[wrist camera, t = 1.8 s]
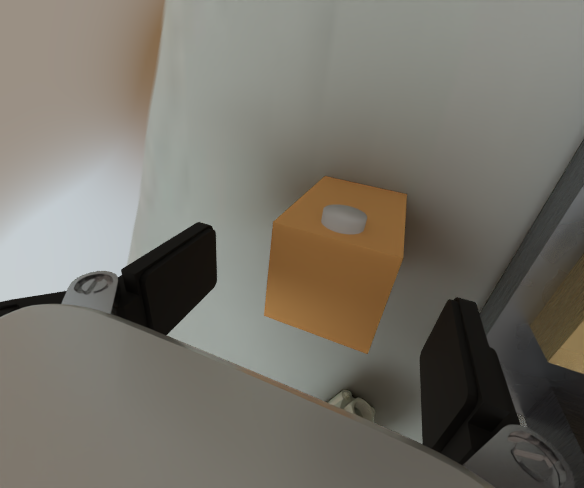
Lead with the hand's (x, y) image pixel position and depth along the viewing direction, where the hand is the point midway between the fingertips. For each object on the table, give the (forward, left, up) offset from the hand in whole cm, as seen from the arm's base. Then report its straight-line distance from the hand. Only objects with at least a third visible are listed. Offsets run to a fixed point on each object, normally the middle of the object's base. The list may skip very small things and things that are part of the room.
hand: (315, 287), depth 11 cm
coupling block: (0, 0, -9) cm, 9 cm away
